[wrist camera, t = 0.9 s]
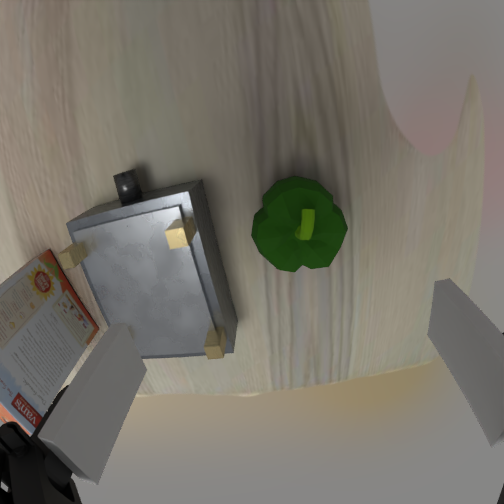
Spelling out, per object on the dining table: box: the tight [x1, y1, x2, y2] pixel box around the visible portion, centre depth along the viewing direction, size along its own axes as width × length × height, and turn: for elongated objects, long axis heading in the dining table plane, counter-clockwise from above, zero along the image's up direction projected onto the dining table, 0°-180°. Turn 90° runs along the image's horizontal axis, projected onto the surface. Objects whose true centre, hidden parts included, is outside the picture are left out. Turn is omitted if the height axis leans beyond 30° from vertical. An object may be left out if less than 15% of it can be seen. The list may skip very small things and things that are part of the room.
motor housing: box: [58, 169, 238, 359], centre depth 31 cm, size 21×14×9 cm, turn 11°
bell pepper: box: [251, 176, 348, 272], centre depth 28 cm, size 8×8×10 cm
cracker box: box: [0, 250, 99, 435], centre depth 29 cm, size 14×6×21 cm, turn 22°
